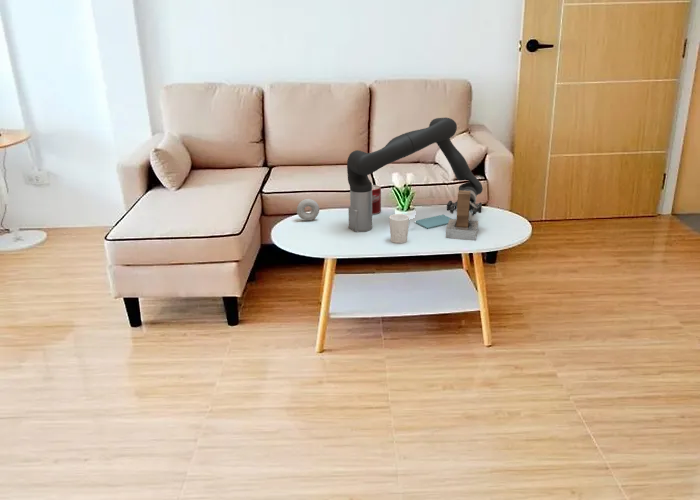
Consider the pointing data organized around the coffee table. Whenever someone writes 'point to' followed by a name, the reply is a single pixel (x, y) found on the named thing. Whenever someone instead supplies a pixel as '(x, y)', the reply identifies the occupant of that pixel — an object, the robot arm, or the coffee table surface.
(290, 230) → the coffee table surface
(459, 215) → the walnut post
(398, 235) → the beige cup
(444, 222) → the slate mat
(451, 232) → the socket block
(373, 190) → the soda can
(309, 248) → the coffee table surface
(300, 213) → the donut
